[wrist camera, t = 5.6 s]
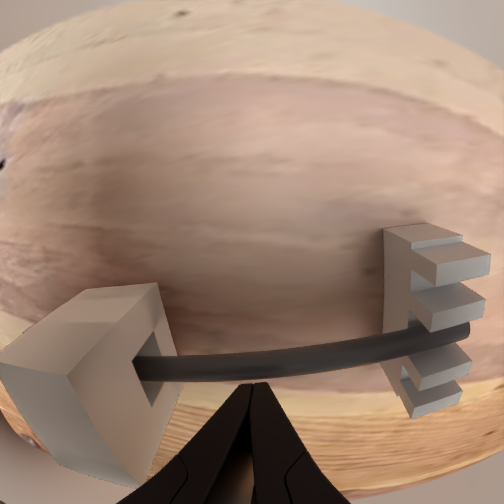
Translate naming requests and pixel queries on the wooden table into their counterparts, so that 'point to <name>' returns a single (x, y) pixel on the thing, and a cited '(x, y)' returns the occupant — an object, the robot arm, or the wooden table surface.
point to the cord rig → (393, 333)
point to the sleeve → (95, 382)
